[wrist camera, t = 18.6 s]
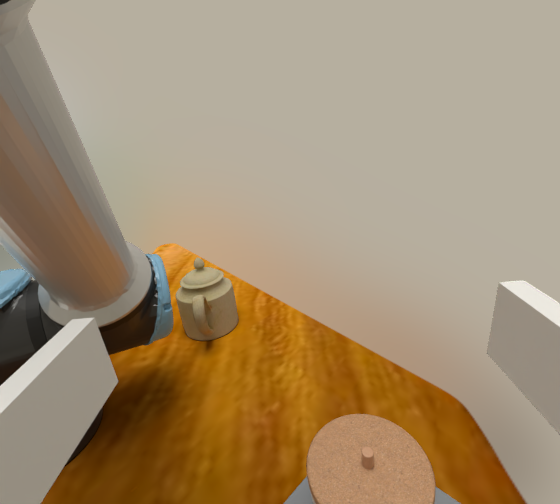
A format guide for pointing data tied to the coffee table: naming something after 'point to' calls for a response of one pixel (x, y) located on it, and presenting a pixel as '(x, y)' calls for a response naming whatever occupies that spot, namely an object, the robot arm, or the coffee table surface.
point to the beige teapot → (206, 303)
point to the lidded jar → (368, 464)
